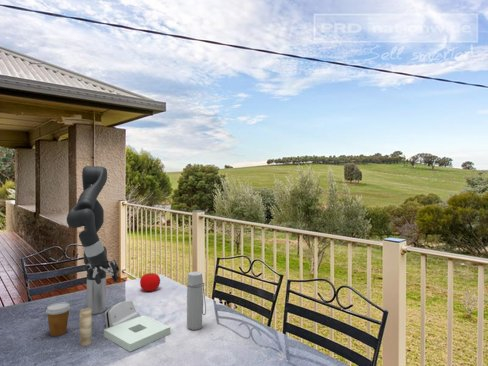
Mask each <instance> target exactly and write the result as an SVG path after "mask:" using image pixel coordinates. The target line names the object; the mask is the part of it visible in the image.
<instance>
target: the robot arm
mask: <svg viewBox="0 0 488 366" xmlns="http://www.w3.org/2000/svg"><path fill="white" fill-rule="evenodd" d="M81 178H82V179H81V180H82V188H83V189H82V190H83V191H82V192H81V193H80V195H79V197H78V200H77V201H76V204H75V205H74V206H73V207H72V208H71V209H70V210H69V212H68V214H67V215H66V225H68V227H70V228H72V229H77V228H81V227H83V228H84V230H81V231H80V232H79V233H78V239H79V240H80V243H81V246H82V248H83V263H84V265H85V267H84V268H85V270H86V308H91V309H92V315H96V314H101V313H103V312H104V313H105V312H106V311H107V274H109V275H110V276H111V278H112V280H113V282H114V283H117V282H118V280H119V276H118V273H119V272H120V268H119V266H118V264H117V262H116V260H115V259H112V260H110V261H109V260H108V253H107V247H106V246H103V243H102V241H101V239H100V238H99V235H98V232H99V231H100V229H101V228H102V226H103V225H104V221H105V220H104V218H105V217H104V214H105V213H104V208H103V206H102V204H101V203H100V201H99V200H98V197H99V195H100V194H101V192H102V190H103V188H104V186H105V185H106V183H107V181H108V170H107V168H106V167H104V166H100V165H99V166H95V165H86V166H83V168H82V171H81Z"/></svg>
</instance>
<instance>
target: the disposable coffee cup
mask: <svg viewBox="0 0 488 366" xmlns="http://www.w3.org/2000/svg"><path fill="white" fill-rule="evenodd" d="M70 309H71V304H70V303H68V302H66V301H63V302H62V301H61V302H55V303H52V304H49V305H47V306H46V310H45V312H46V315H47V322H48V327H49V335H50V336H52V337H58V336H62V335H64V334H65V333H67V329H68V322H69V315H70Z"/></svg>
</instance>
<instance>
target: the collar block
mask: <svg viewBox="0 0 488 366" xmlns="http://www.w3.org/2000/svg"><path fill="white" fill-rule="evenodd" d="M170 334H171V326H169V325H167V324H165V323H162V322H160V321H158V320H156V319H154V318H152V317H149V316H147V315H141V316H140V315H139V317H137V318H135V319H132V320H129V321H126V322H124V323H121V324H118V325H116V326H113V327H109V328H105V329H103V337H104V338H106V339H107V340H109V341H110V342H113V343H114V344H116V345H117V346H119V347H121V348H123V349H125V350H126V351H128V352H130V353H131V352H133V351H135V350H137V349H139V348H141V347H145V346H146V345H149V344H150V343H153V342H155V341H158V340H160V339H161V338H163V337H166V336H169V335H170Z"/></svg>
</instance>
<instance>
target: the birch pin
mask: <svg viewBox="0 0 488 366" xmlns="http://www.w3.org/2000/svg"><path fill="white" fill-rule="evenodd" d="M92 316H93V314H92V309H91V308H87V307H85V308H82V309H80V310H79V346H80V347H87V346H90V345H91V344H92V323H93V322H92V318H93V317H92Z"/></svg>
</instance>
